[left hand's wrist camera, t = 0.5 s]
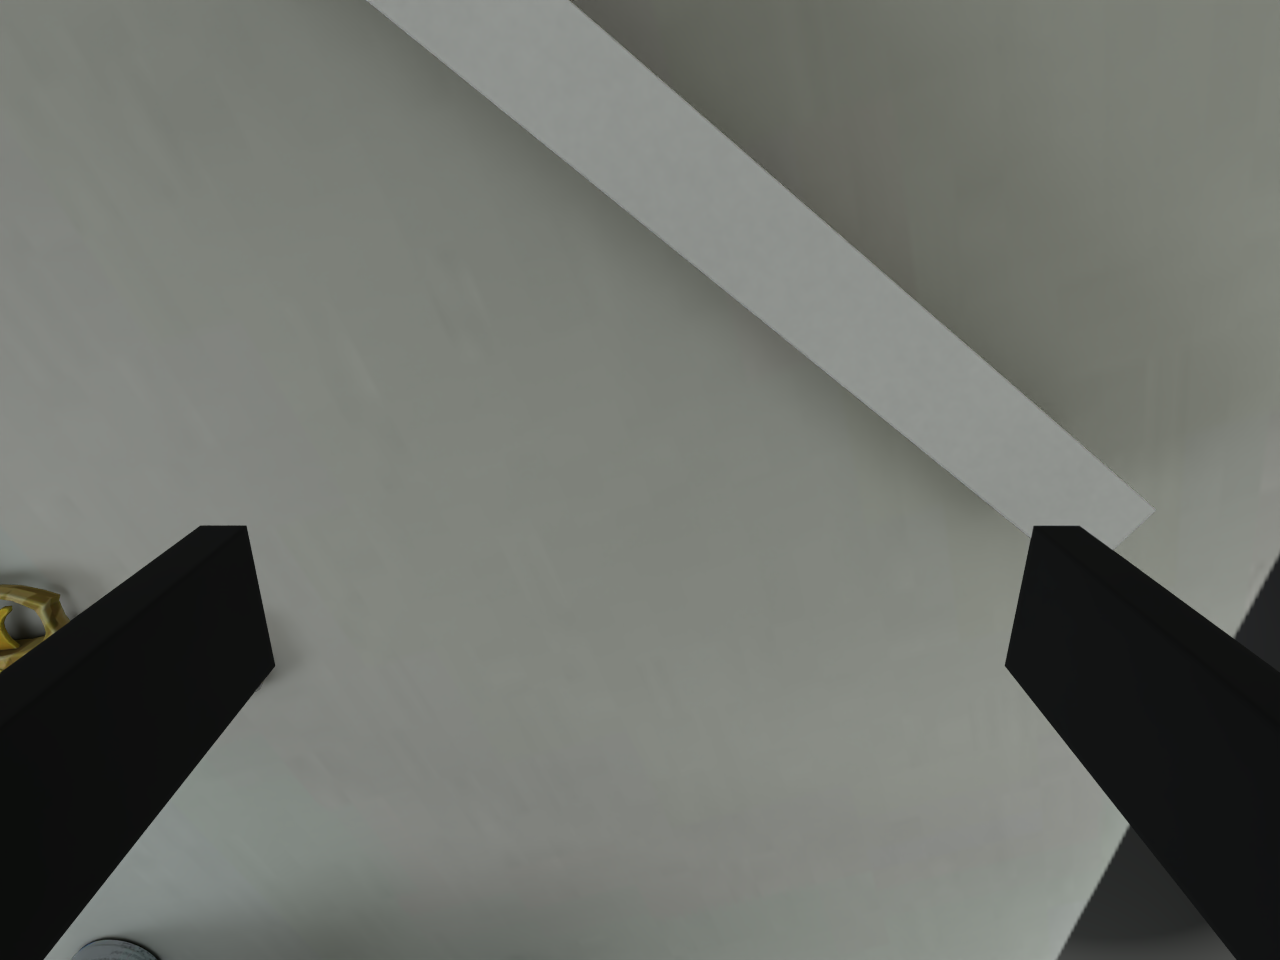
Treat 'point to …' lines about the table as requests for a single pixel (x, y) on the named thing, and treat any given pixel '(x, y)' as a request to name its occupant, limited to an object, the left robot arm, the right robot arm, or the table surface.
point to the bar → (770, 254)
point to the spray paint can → (112, 951)
